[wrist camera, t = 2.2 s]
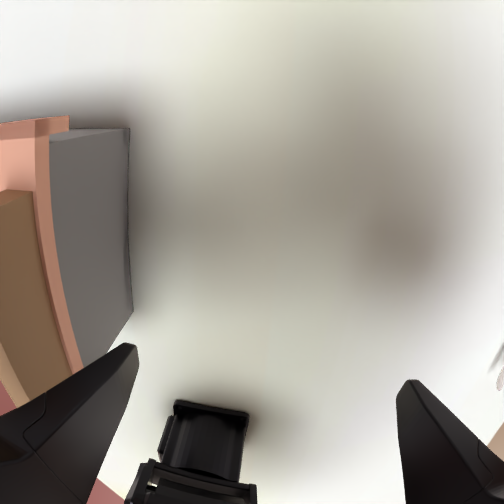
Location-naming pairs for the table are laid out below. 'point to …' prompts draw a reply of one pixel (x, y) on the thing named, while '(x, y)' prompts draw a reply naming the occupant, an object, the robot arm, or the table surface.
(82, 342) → the base
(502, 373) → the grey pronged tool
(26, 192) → the lid
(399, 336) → the table surface
